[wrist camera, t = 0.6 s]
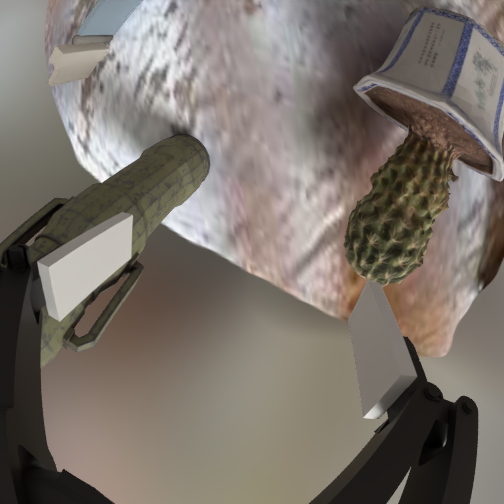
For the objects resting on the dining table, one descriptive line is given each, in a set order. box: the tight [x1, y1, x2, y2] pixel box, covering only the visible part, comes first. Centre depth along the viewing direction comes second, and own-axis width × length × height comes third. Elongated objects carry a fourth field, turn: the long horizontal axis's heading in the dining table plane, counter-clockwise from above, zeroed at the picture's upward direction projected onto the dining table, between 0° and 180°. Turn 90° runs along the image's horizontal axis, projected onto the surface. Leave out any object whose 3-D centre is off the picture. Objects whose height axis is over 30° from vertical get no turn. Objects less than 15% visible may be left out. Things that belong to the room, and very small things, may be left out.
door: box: [72, 0, 142, 45], centre depth 21 cm, size 16×1×8 cm, turn 132°
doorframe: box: [48, 42, 110, 87], centre depth 20 cm, size 29×2×10 cm, turn 132°
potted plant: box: [344, 6, 504, 287], centre depth 22 cm, size 18×18×30 cm
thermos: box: [0, 134, 210, 368], centre depth 25 cm, size 9×12×35 cm
